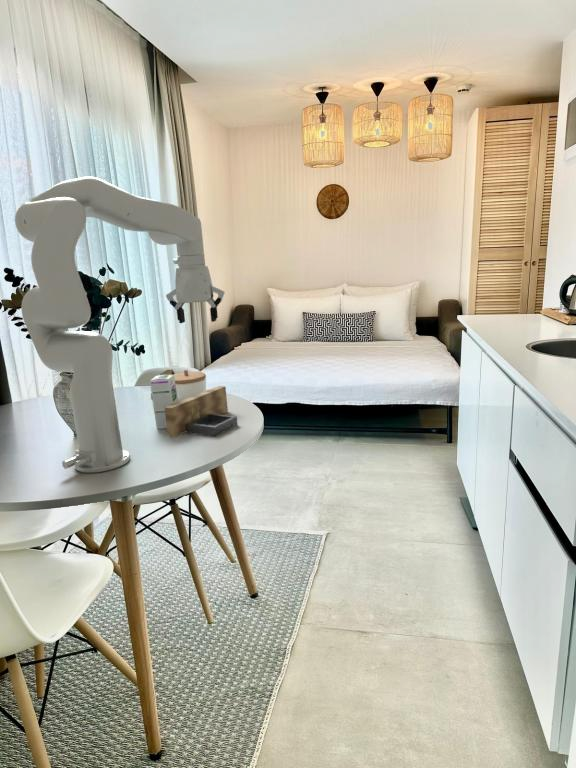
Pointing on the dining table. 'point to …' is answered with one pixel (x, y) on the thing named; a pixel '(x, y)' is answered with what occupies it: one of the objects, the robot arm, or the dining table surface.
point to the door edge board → (195, 409)
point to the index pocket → (202, 428)
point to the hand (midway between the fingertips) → (198, 321)
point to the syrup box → (162, 397)
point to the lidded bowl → (189, 384)
